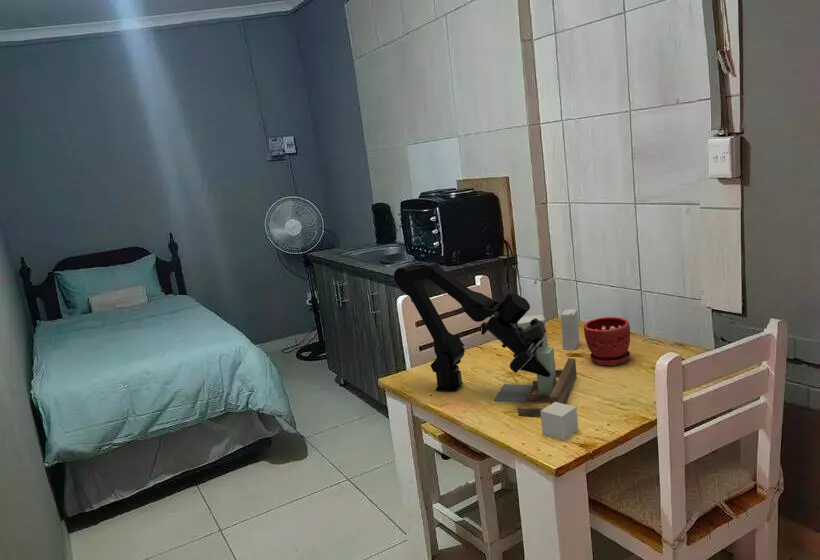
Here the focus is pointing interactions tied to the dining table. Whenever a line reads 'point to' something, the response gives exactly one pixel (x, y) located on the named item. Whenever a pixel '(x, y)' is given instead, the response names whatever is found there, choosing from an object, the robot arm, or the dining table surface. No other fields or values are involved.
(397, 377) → the dining table surface
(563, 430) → the light grey cube
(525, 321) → the skincare box
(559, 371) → the lane rack
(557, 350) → the dining table surface
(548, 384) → the sage block
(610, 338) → the plant pot
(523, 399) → the slate mat
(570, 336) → the skincare box
